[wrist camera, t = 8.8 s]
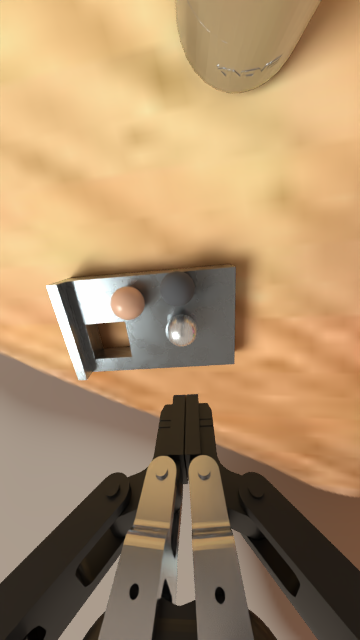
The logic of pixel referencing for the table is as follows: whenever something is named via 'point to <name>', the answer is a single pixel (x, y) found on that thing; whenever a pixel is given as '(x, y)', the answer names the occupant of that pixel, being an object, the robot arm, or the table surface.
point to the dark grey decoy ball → (177, 288)
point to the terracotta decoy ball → (127, 303)
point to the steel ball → (181, 330)
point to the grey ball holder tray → (147, 320)
